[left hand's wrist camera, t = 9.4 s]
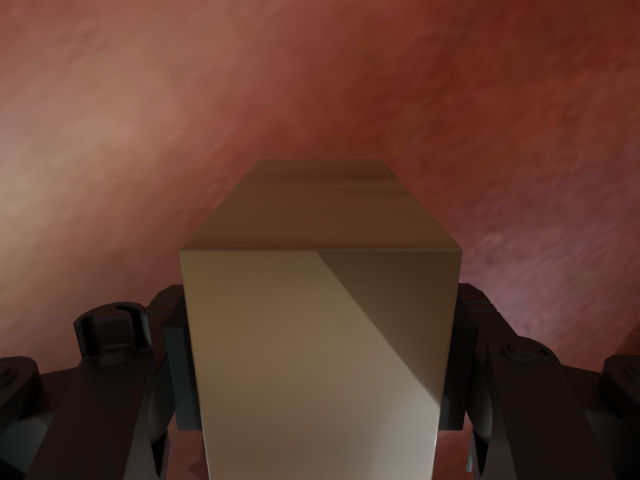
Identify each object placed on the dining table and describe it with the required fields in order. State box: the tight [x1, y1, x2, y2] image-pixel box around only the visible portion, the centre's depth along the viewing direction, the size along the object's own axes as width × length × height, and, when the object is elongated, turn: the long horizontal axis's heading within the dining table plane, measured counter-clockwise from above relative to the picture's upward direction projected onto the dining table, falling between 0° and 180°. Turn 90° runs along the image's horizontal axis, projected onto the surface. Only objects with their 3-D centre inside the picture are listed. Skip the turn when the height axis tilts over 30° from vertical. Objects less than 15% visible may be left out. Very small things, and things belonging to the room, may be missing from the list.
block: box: [179, 160, 463, 480], centre depth 12 cm, size 6×5×10 cm
